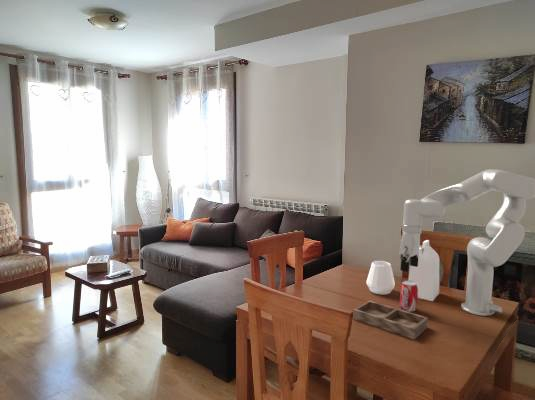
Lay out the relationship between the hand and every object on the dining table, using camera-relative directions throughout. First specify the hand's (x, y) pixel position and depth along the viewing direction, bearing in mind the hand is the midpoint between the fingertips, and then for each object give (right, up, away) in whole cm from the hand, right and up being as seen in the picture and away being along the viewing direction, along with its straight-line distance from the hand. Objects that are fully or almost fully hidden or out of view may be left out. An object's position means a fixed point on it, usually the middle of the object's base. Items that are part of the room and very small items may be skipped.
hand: (409, 268), depth 162 cm
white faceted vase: (-5, -16, +24) cm, 29 cm away
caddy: (-12, -20, -11) cm, 25 cm away
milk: (+14, -16, +20) cm, 29 cm away
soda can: (0, -18, +2) cm, 19 cm away
